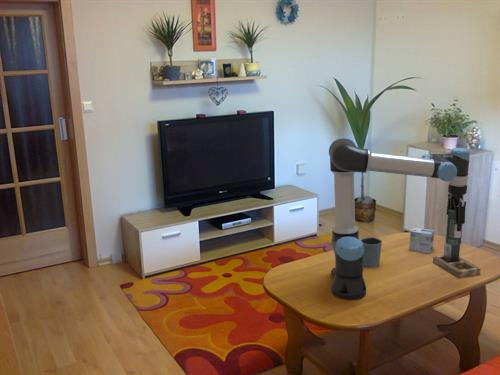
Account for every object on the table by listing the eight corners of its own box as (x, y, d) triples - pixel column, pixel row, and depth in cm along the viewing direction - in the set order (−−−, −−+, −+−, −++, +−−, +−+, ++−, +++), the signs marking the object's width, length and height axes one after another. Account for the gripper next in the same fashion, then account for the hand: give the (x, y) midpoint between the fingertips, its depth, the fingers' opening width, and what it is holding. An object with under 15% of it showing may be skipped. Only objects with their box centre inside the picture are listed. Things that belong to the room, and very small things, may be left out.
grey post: (449, 268, 242) (451, 238, 238) (440, 263, 248) (442, 234, 244) (459, 266, 244) (462, 237, 240) (450, 261, 250) (453, 232, 246)
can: (461, 241, 228) (464, 209, 224) (460, 246, 223) (462, 213, 219) (447, 239, 231) (449, 208, 227) (445, 244, 226) (447, 212, 222)
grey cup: (360, 267, 246) (360, 244, 243) (359, 259, 256) (360, 236, 253) (381, 268, 245) (382, 245, 241) (380, 259, 254) (381, 237, 251)
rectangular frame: (459, 278, 232) (459, 272, 231) (432, 262, 249) (433, 256, 249) (480, 274, 235) (480, 268, 234) (452, 259, 253) (453, 253, 252)
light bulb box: (433, 249, 265) (434, 230, 262) (430, 254, 259) (431, 234, 257) (412, 246, 270) (413, 226, 268) (408, 250, 265) (410, 230, 262)
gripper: (476, 189, 211) (472, 242, 217) (457, 178, 229) (453, 226, 236) (458, 190, 211) (454, 243, 217) (440, 179, 229) (437, 227, 236)
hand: (454, 234), depth 226 cm, fingers closed on can, 6 cm apart
